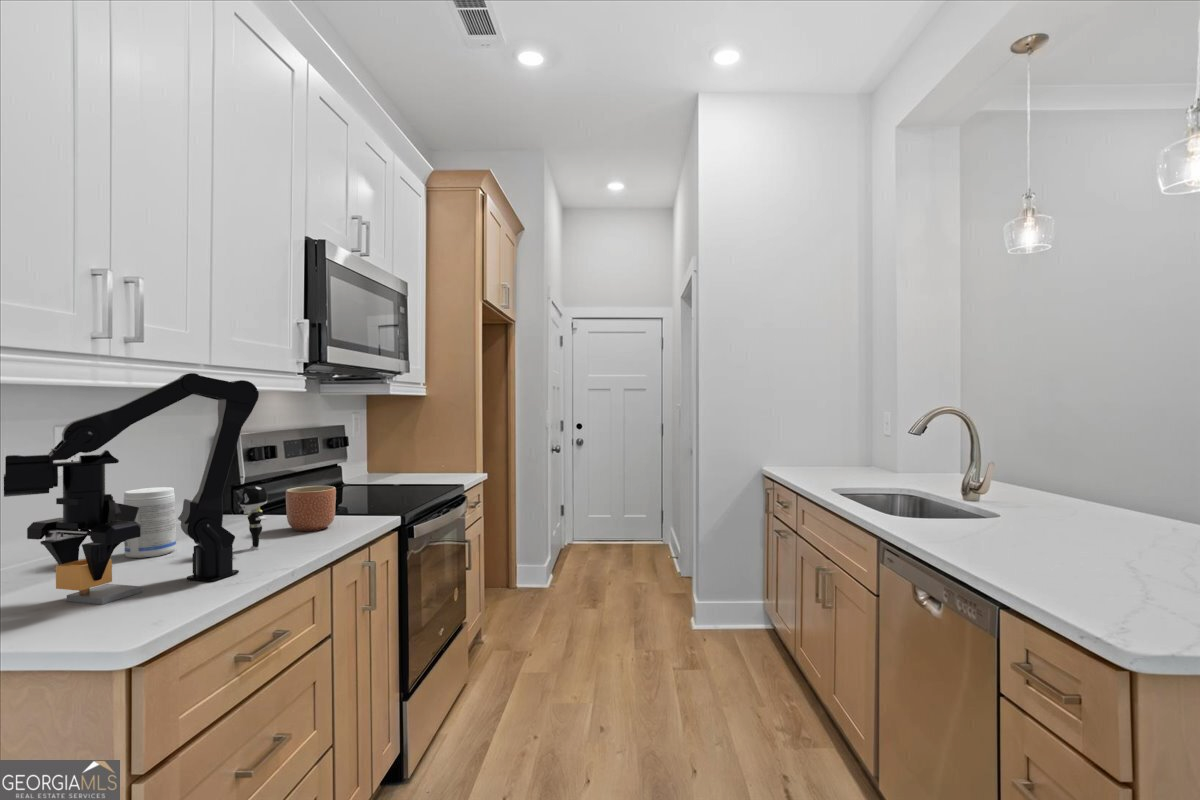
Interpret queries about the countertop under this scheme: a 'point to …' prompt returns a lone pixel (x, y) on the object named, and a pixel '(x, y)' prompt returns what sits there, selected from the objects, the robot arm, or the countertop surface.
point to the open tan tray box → (79, 575)
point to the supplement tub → (152, 522)
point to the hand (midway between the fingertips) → (84, 579)
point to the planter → (310, 507)
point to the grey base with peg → (104, 593)
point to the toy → (254, 510)
